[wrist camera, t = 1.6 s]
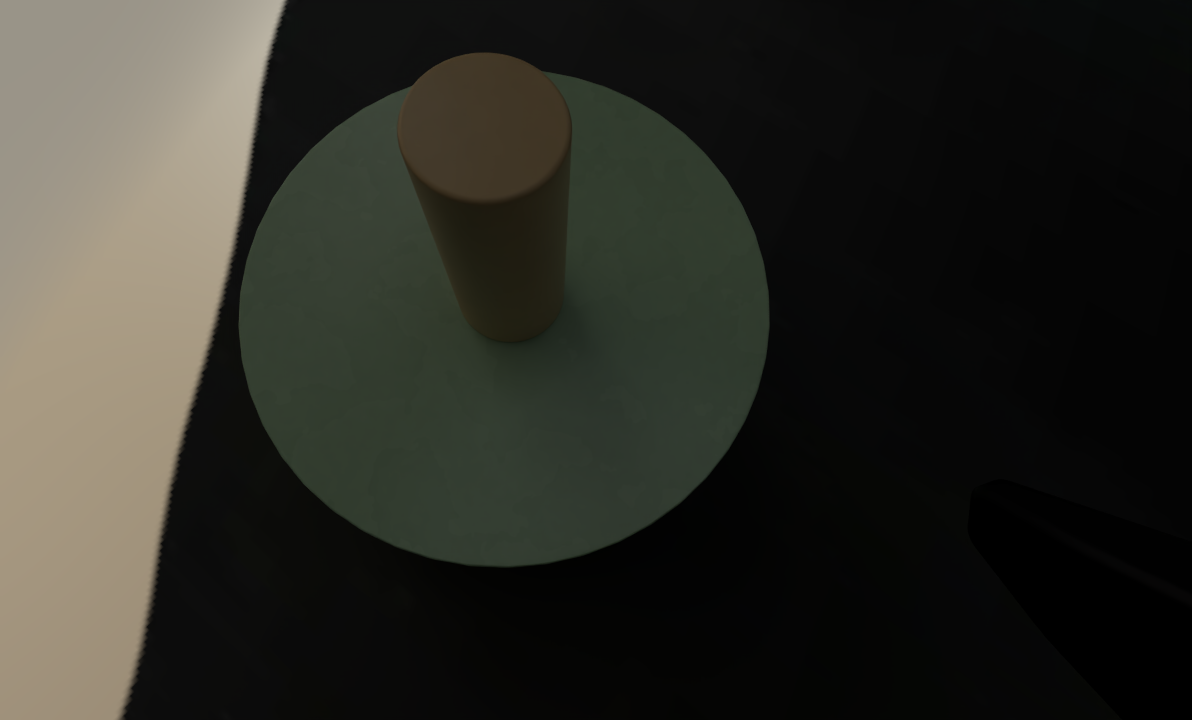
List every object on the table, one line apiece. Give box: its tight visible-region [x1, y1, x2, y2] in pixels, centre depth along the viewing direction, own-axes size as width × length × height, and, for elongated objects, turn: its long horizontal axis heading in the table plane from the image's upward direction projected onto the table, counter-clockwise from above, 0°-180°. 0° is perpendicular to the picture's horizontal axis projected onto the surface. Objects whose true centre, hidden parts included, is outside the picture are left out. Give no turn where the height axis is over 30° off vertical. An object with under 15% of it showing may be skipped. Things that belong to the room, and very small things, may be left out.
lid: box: [239, 53, 770, 568], centre depth 14 cm, size 13×13×8 cm
